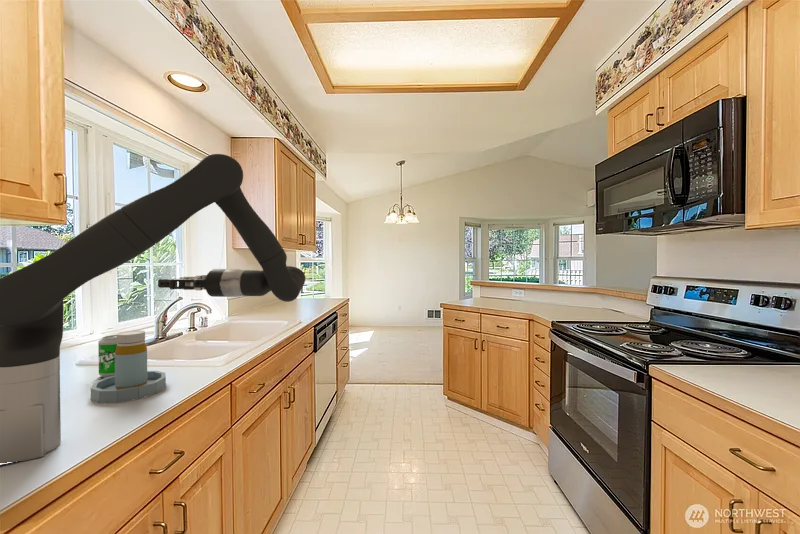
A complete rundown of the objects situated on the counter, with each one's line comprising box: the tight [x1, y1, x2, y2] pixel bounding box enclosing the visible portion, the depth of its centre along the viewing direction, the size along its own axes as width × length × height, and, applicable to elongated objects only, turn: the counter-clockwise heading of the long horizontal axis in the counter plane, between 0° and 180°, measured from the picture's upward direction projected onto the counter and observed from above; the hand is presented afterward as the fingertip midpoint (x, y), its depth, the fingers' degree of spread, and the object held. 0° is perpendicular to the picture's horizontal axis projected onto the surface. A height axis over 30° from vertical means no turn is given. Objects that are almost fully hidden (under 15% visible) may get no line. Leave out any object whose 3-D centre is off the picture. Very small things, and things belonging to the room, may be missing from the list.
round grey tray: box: [90, 370, 167, 404], centre depth 97 cm, size 16×16×3 cm
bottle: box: [115, 329, 148, 389], centre depth 96 cm, size 7×7×15 cm
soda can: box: [97, 334, 117, 379], centre depth 109 cm, size 8×8×12 cm
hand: (169, 282), depth 96 cm, fingers open, 8 cm apart
